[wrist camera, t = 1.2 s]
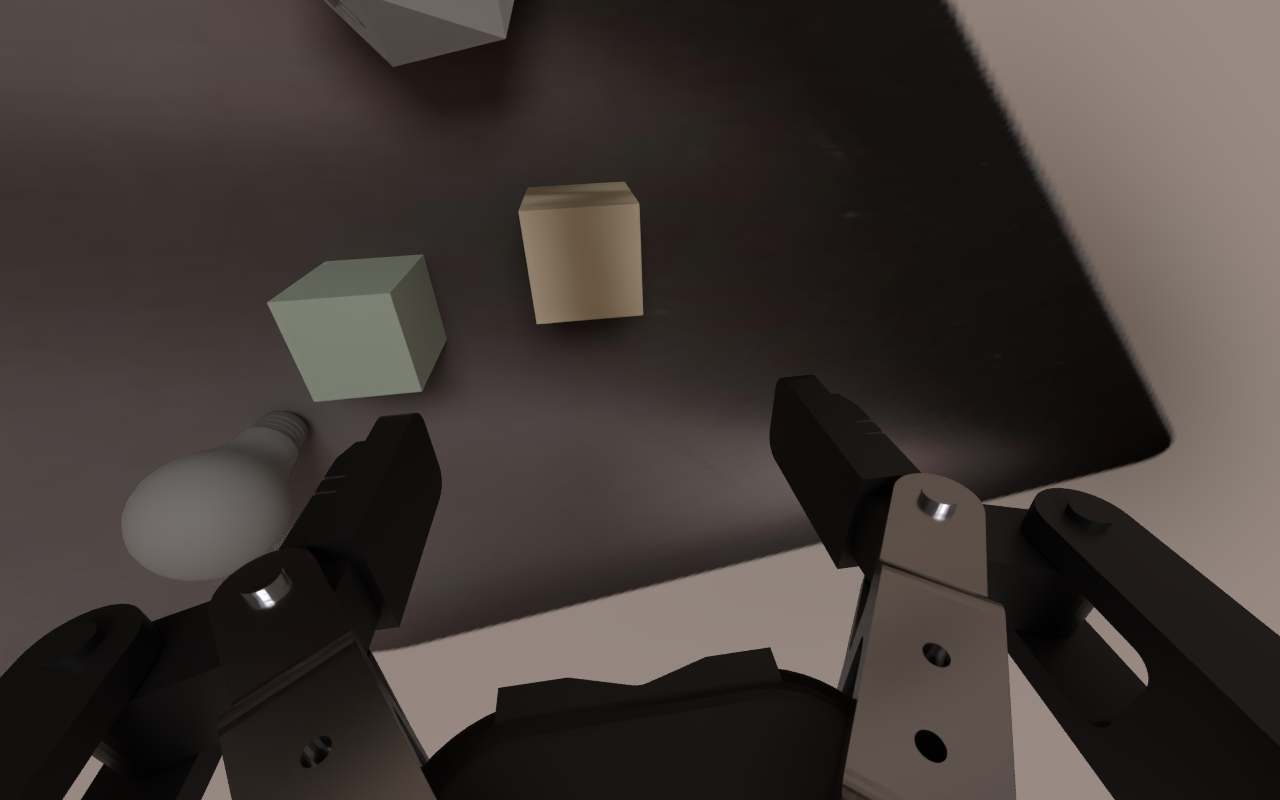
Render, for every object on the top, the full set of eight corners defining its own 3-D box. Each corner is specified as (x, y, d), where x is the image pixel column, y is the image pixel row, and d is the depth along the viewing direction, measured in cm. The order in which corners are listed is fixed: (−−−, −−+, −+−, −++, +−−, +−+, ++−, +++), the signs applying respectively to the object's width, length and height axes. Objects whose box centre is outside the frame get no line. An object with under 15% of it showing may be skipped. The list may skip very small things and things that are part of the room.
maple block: (542, 281, 28) (536, 324, 23) (527, 187, 25) (518, 211, 20) (629, 275, 28) (643, 315, 23) (624, 181, 25) (639, 203, 20)
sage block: (358, 346, 28) (314, 401, 23) (325, 261, 25) (267, 302, 20) (446, 339, 29) (421, 391, 24) (423, 254, 26) (389, 293, 21)
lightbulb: (291, 361, 28) (157, 492, 19) (367, 434, 31) (285, 577, 22) (208, 405, 29) (41, 552, 20) (290, 472, 32) (180, 625, 23)
